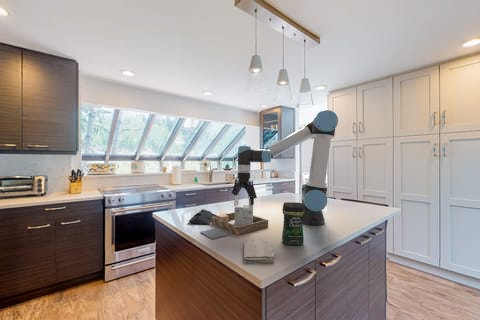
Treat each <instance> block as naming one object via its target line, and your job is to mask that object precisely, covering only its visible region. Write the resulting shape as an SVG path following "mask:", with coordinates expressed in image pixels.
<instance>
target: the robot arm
mask: <svg viewBox="0 0 480 320" xmlns="http://www.w3.org/2000/svg"><path fill="white" fill-rule="evenodd" d="M338 124H339V117H338V116H337V114H336V112H334V110H330V109H323V110H320V111H318V112H317V113H316V114H315V116H314V118H313V119H312V120H311V121H310V122H308V123H307V124H305V125H304V127H303V128H301V129H298V130H297V131H295V132H294V133H291V134H289V135H288V136H286V137H284V138H282V139H281V140H278V141H276V142H275V143H273V144H271V145H269V146H268V147H266V148H264V149H259V148H258V149H253V148H252V146H249V145H239V146H238V148H237V149H238V150H237V178H236V179H235V180H234V185H233V187H232V191H231V194H232V195H233V200H234V201H233V207H235V206H236V205H239V193H240V192H241V190H242V188H243V189H244V190H245V191H246V193H247V195H248V205H249V211H251V210H253V211H254V203H255V202H254V201H255V199H257V198H258V197H257V194H256V190H255V186H254V181H253V180H250V179H251V163H263V164H265V163H271V161H272V159H273V158H275V157H277V156H279V155H281V154H283V153H284V152H287V151H289V150H291V149H292V148H294V147H296V146H298V145H300V144H302V143H304V142H306V141H308V140H313V144H312V145H313V146H312V153H311V159H310V161H311V162H310V167H309V175H308V180H307V182H306V183H303V184H301V188H300V189H301V203H302V204H303V207H304V214H303V217H302V225H303V224H304V225H308V226H323V225H325V223H326V219H325V216H324V214H323V213H324V212H323V210H324V209H325V208H326V206H327V204H328V196H327V193H328V186H327V184H326V179H327V178H326V177H327V171H328V165H329V163H328V162H329V157H330V147H331V142H332V141H331V140H332V139H334V138H335V133H336V128H337V127H338Z"/></svg>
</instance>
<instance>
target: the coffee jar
mask: <svg viewBox="0 0 480 320" xmlns="http://www.w3.org/2000/svg"><path fill="white" fill-rule="evenodd" d="M281 210H282V214H283V226H282V233H281V235H282V236H281V240H282V241H281V242H282V243H283V244H285V245H287V246H302V245H304V241H305V240H304V229H303V223H302V217H303V214H304V207H303V204H302V202H296V201H295V202H293V201H292V202H290V201H288V202H283V204H282V209H281Z"/></svg>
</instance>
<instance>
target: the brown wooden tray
mask: <svg viewBox="0 0 480 320" xmlns="http://www.w3.org/2000/svg"><path fill="white" fill-rule="evenodd" d="M224 214H225V215H228V216H229V221H232V220H235V211H234V212H229V213H224ZM211 225H215V226H216V227H217V228H219V227H220V228H223V229H225V230H227V231H229V232H231V233H233V235H237V236H240V235H244V234H248V233H252V232H256V231H259V230H263V229H266V228H269V219H266V218H263V217H260V216H258V215H257V216H256V215H254V214H253V223H252V224H247V225H243V226H240V225H235V224H233V223H230V222H229V223H228V222H225V221H223V220H220V219H218V218H217V216H213V217H212V223H211Z"/></svg>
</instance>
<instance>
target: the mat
mask: <svg viewBox="0 0 480 320" xmlns="http://www.w3.org/2000/svg"><path fill="white" fill-rule="evenodd" d="M200 234H201V235H202V236H206V237H207V238H208V239H210V240H218V239H221V238H225V237H228V236H231V235H234V233H232V232H230V231H227V230H225V229H223V228H221V227H216V228H211V229H207V230H203V231H200Z"/></svg>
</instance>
